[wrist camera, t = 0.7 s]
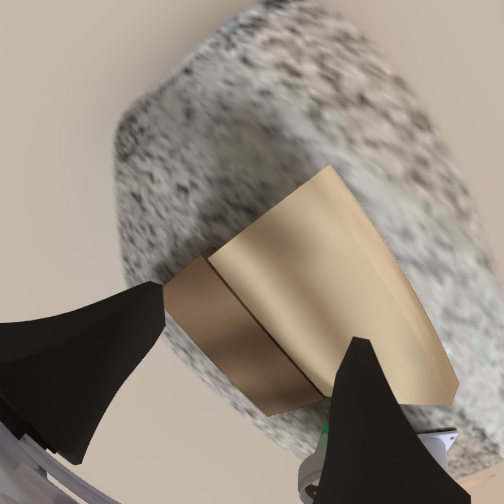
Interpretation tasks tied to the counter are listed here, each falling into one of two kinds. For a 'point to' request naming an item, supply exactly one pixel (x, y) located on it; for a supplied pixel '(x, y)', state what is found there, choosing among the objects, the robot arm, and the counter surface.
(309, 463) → the food container
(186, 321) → the walnut board
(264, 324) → the oak plank
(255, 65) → the counter surface
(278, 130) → the counter surface
